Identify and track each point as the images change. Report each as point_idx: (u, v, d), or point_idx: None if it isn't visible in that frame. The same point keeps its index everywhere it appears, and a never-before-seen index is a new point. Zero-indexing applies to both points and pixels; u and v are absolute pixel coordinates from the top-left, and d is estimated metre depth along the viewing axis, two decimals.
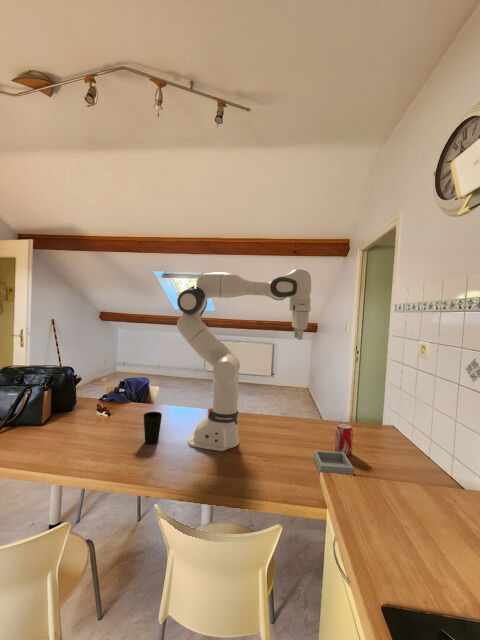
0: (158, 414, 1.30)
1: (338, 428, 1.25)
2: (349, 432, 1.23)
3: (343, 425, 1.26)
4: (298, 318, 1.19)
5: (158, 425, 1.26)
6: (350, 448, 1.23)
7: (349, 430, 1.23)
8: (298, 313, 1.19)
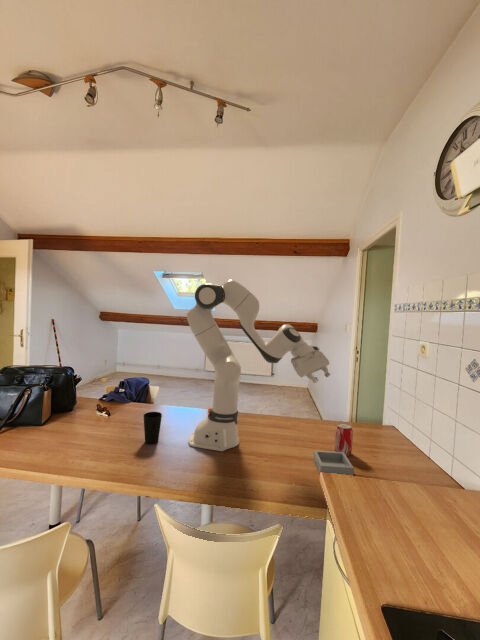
0: (158, 414, 1.30)
1: (338, 428, 1.25)
2: (349, 432, 1.23)
3: (343, 425, 1.26)
4: None
5: (158, 425, 1.26)
6: (350, 448, 1.23)
7: (349, 430, 1.23)
8: None
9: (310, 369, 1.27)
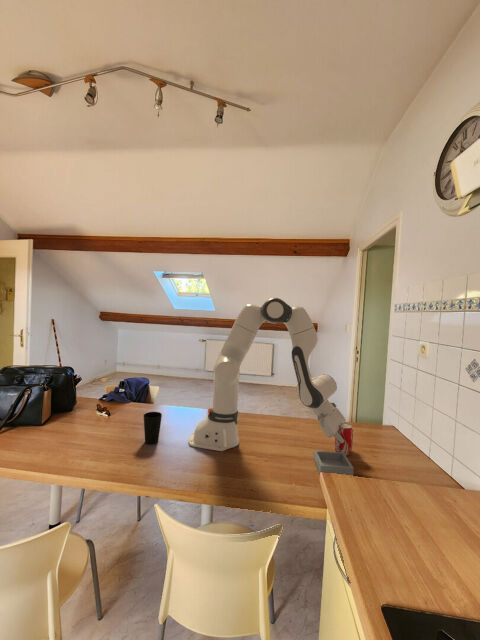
0: (158, 414, 1.30)
1: None
2: (349, 432, 1.23)
3: (343, 425, 1.26)
4: None
5: (158, 425, 1.26)
6: (350, 448, 1.23)
7: (349, 430, 1.23)
8: None
9: (336, 429, 1.22)
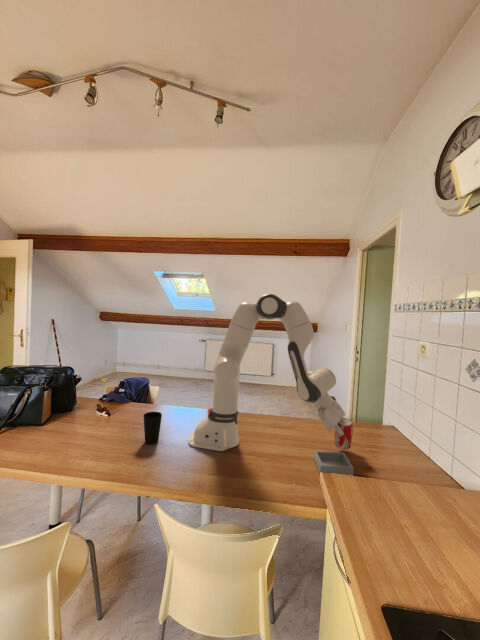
0: (158, 414, 1.30)
1: None
2: (349, 429, 1.23)
3: (343, 421, 1.26)
4: None
5: (158, 425, 1.26)
6: (350, 443, 1.25)
7: (349, 427, 1.23)
8: None
9: (336, 422, 1.22)
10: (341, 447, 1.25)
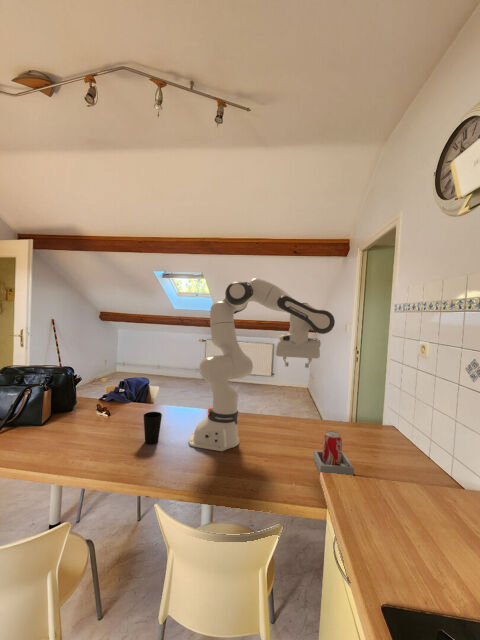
0: (158, 414, 1.30)
1: (324, 436, 1.14)
2: (334, 442, 1.11)
3: (332, 434, 1.15)
4: None
5: (158, 425, 1.26)
6: (336, 460, 1.11)
7: (335, 439, 1.11)
8: (278, 342, 1.39)
9: None
10: (326, 463, 1.12)
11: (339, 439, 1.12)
